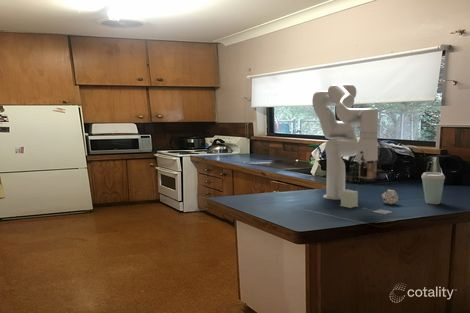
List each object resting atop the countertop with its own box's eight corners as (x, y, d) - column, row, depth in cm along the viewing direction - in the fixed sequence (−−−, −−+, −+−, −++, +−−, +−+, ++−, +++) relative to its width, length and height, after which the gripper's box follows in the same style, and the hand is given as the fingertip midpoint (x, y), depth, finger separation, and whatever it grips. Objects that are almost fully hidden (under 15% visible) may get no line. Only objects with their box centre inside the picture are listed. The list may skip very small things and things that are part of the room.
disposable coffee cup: (445, 205, 190) (447, 175, 189) (421, 204, 194) (422, 174, 192) (442, 201, 200) (443, 172, 199) (418, 200, 204) (420, 171, 202)
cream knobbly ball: (386, 211, 195) (382, 193, 201) (404, 207, 191) (399, 188, 196) (380, 205, 189) (376, 186, 195) (398, 200, 185) (393, 181, 190)
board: (351, 203, 196) (351, 201, 196) (397, 212, 178) (397, 210, 177) (333, 208, 187) (333, 205, 187) (380, 217, 169) (380, 215, 169)
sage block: (347, 203, 193) (348, 189, 192) (357, 205, 189) (357, 191, 188) (340, 205, 189) (341, 191, 189) (350, 207, 185) (350, 192, 184)
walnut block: (365, 176, 184) (366, 161, 183) (376, 177, 180) (376, 162, 179) (358, 177, 181) (359, 162, 180) (369, 179, 176) (369, 163, 176)
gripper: (371, 135, 187) (370, 173, 188) (350, 136, 176) (349, 176, 178) (386, 135, 181) (385, 175, 183) (364, 137, 170) (363, 178, 172)
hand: (367, 175), depth 180 cm, fingers closed on walnut block, 5 cm apart
